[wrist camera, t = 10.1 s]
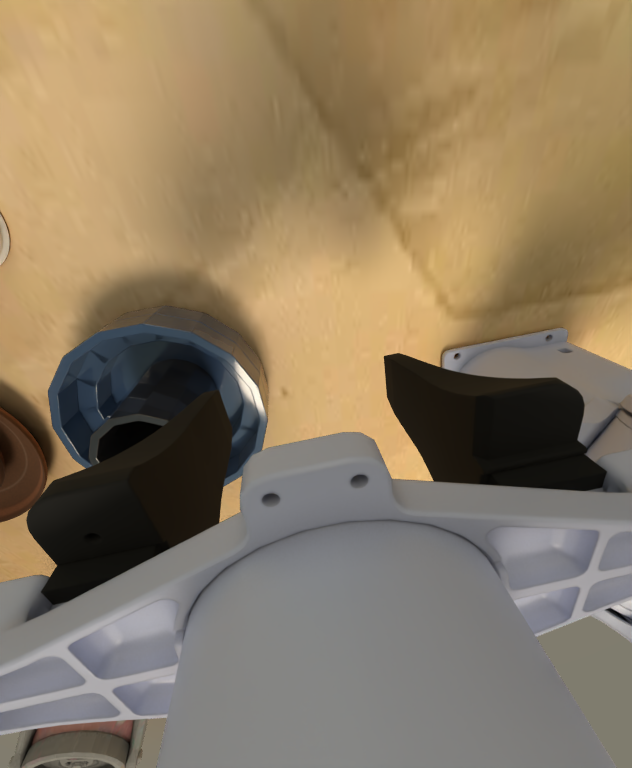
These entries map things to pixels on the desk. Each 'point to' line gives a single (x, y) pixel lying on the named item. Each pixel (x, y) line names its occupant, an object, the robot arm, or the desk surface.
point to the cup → (149, 406)
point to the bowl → (139, 352)
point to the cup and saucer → (19, 468)
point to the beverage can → (81, 745)
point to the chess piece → (3, 240)
